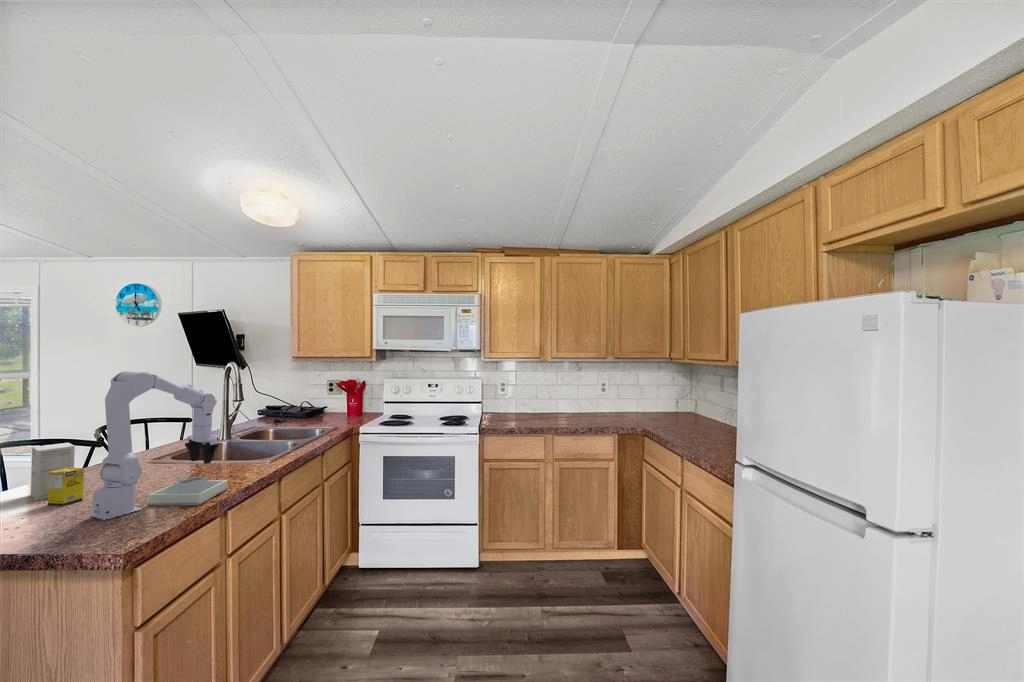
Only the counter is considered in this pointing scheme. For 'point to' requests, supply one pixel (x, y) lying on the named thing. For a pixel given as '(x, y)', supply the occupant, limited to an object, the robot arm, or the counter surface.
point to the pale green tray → (168, 498)
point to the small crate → (190, 486)
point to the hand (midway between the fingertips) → (201, 462)
